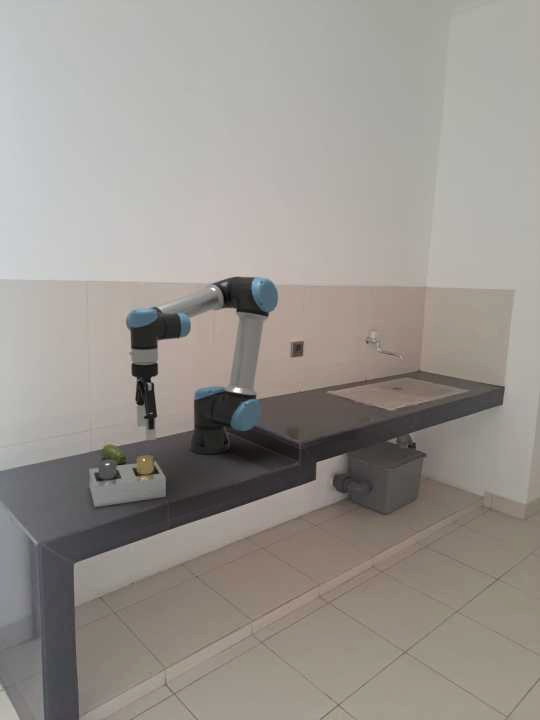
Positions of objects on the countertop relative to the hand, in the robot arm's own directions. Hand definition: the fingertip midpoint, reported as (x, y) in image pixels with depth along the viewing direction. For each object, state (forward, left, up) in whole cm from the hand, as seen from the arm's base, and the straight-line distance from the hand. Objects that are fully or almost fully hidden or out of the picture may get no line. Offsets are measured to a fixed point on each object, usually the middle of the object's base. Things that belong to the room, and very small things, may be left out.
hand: (146, 432), depth 156 cm
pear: (+6, -28, -18) cm, 34 cm away
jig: (+6, 0, -18) cm, 19 cm away
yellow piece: (0, 0, -18) cm, 18 cm away
